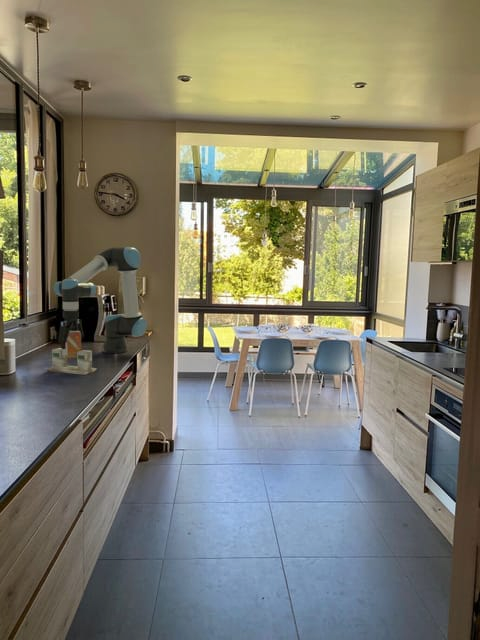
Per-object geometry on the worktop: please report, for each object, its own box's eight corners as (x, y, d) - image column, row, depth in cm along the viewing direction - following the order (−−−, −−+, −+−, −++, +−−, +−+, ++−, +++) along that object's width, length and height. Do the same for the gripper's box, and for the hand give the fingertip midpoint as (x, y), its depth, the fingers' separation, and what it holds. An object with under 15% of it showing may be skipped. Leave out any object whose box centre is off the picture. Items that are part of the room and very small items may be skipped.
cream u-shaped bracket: (61, 366, 233) (60, 347, 232) (96, 370, 227) (96, 350, 226) (47, 370, 224) (46, 350, 222) (84, 374, 217) (84, 353, 216)
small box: (65, 358, 219) (64, 332, 218) (62, 356, 225) (61, 331, 223) (81, 357, 224) (81, 331, 222) (78, 354, 229) (78, 330, 228)
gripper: (78, 307, 233) (79, 349, 236) (48, 311, 212) (50, 357, 214) (90, 308, 231) (91, 350, 234) (61, 312, 210) (63, 358, 212)
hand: (71, 353), depth 224 cm, fingers closed on small box, 10 cm apart
